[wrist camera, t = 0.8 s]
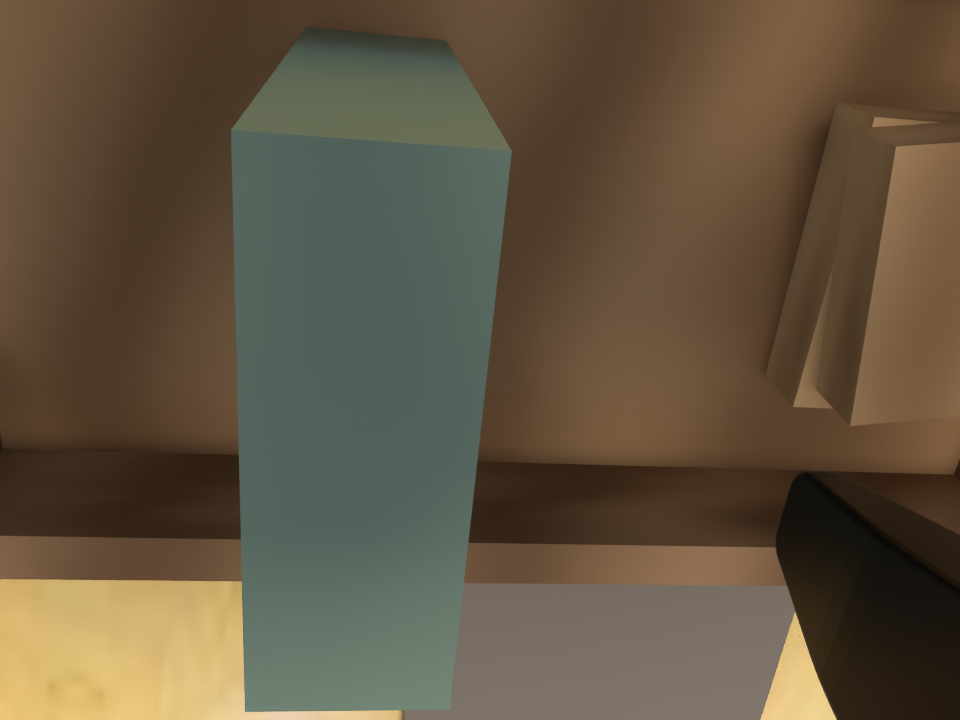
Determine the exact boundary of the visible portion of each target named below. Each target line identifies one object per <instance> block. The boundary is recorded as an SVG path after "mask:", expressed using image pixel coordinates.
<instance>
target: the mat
mask: <svg viewBox="0 0 960 720" xmlns="http://www.w3.org/2000/svg"><path fill="white" fill-rule="evenodd" d="M794 612H795V609H794V606H793V603H792V600H791V597H790V594H789V591H788V588H787V586H738V585H625V584H513V583H464V586H463V595H462V604H461V613H460V622H459V631H458V640H457V649H456V658H455V667H454V676H453V685H452V694H451V703H450V710H403V717H402V720H760V719H761V716H762V713H763V709H764V706H765V703H766V700H767V697H768V694H769V691H770V688H771V684H772V681H773V678H774V675H775V672H776V669H777V666H778V662H779V659H780V656H781V653H782V650H783V647H784V644H785V640H786V637H787V634H788V631H789V628H790V625H791V622H792V618H793V615H794Z"/></svg>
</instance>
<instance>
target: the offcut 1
mask: <svg viewBox="0 0 960 720" xmlns="http://www.w3.org/2000/svg"><path fill="white" fill-rule="evenodd" d="M956 121H960V113H953V112H942V111H930V110H919V109H907V108H896V107H884V106H872V105H861V104H849V103H838V102H837V103H836V107H835V111H834V114H833V118H832V122H831V126H830V130H829V134H828V137H827V141H826V145H825V149H824V153H823V157H822V160H821V164H820V168H819V172H818V176H817V179H816V183H815V187H814V191H813V195H812V199H811V202H810V206H809V210H808V214H807V218H806V221H805V225H804V229H803V233H802V237H801V241H800V244H799V248H798V252H797V256H796V260H795V263H794V267H793V271H792V275H791V279H790V283H789V286H788V290H787V294H786V298H785V302H784V305H783V309H782V313H781V317H780V321H779V325H778V328H777V332H776V336H775V340H774V344H773V347H772V351H771V355H770V359H769V363H768V367H767V370H766V374H765V375H766V376H767V377H768V378H769V380H770V381H771V382H772V383H773V384H774V385H775V387H776V388H777V389H778V390H779V391H780V392H781V394H782V395H783V396H784V397H785V398H786V399H787V400H788V402H789V403H790V404H791V405H792V406H793V407H807V408H833V407H832V406H831V405H830V404H829V403H828V402H827V401H826V400H825V399H824V398H823V397H822V396H821V395H820V394H819V393H818V392H817V391H816V387H817V380H818V373H819V366H820V358H821V351H822V344H823V337H824V330H825V323H826V316H827V309H828V302H829V295H830V288H831V281H832V274H833V267H834V259H835V252H836V245H837V238H838V231H839V224H840V217H841V210H842V203H843V196H844V189H845V182H846V175H847V168H848V161H849V153H850V146H851V139H852V132H853V128H867V127H882V126H897V125H912V124H927V123H941V122H956Z"/></svg>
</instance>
